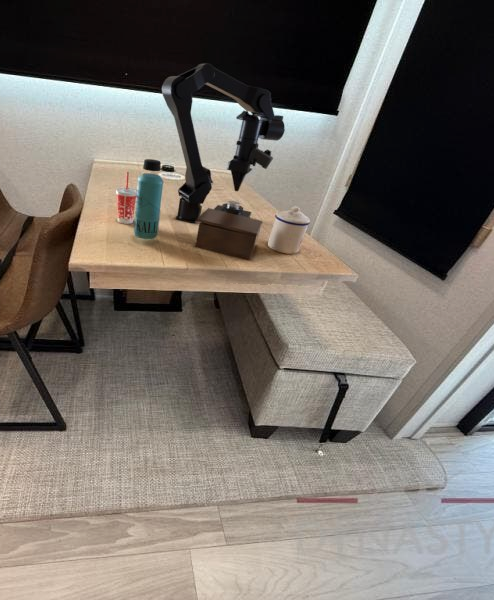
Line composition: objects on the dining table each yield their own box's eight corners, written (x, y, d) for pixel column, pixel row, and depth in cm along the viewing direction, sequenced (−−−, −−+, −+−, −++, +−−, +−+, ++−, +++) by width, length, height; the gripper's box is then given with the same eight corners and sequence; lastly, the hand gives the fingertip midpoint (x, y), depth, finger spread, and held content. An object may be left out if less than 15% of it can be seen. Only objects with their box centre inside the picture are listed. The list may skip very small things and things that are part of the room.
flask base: (209, 218, 109) (212, 206, 107) (216, 210, 117) (218, 199, 115) (245, 226, 106) (248, 213, 104) (249, 218, 114) (252, 206, 112)
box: (195, 246, 87) (199, 223, 84) (206, 233, 96) (210, 212, 93) (249, 260, 83) (256, 236, 80) (255, 245, 92) (261, 223, 89)
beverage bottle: (145, 233, 91) (152, 156, 80) (162, 241, 87) (172, 162, 76) (127, 238, 87) (132, 157, 76) (144, 247, 83) (152, 163, 72)
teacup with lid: (304, 255, 90) (320, 214, 83) (273, 253, 89) (286, 211, 82) (287, 239, 100) (300, 200, 94) (259, 236, 99) (270, 198, 92)
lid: (196, 221, 84) (197, 218, 83) (207, 210, 93) (208, 207, 93) (256, 236, 80) (257, 233, 79) (261, 223, 89) (262, 221, 89)
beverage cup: (136, 219, 100) (140, 171, 93) (133, 225, 95) (137, 175, 88) (117, 216, 100) (119, 168, 93) (112, 222, 95) (114, 172, 88)
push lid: (225, 207, 109) (226, 202, 108) (228, 205, 112) (229, 200, 111) (237, 210, 108) (238, 205, 107) (239, 207, 111) (240, 202, 110)
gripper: (272, 144, 89) (257, 202, 97) (278, 140, 104) (264, 190, 112) (232, 138, 92) (221, 194, 100) (243, 135, 107) (232, 184, 115)
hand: (236, 190), depth 107 cm, fingers closed
